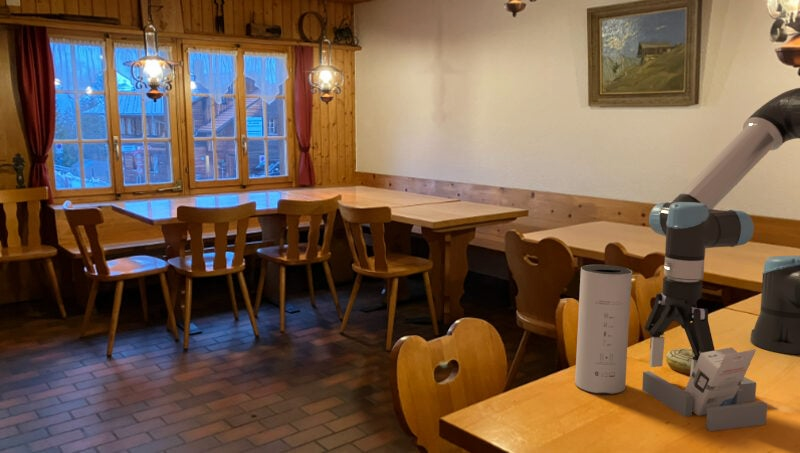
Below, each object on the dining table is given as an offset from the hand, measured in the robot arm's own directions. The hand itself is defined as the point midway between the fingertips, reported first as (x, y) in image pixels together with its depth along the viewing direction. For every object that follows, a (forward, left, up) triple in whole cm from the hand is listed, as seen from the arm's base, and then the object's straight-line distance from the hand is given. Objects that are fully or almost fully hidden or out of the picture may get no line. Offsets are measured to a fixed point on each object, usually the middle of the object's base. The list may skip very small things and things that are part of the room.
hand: (675, 377), depth 143 cm
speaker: (+14, -6, -3) cm, 15 cm away
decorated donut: (-12, -11, -3) cm, 17 cm away
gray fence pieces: (-3, +8, -3) cm, 9 cm away
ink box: (0, +9, -2) cm, 9 cm away
